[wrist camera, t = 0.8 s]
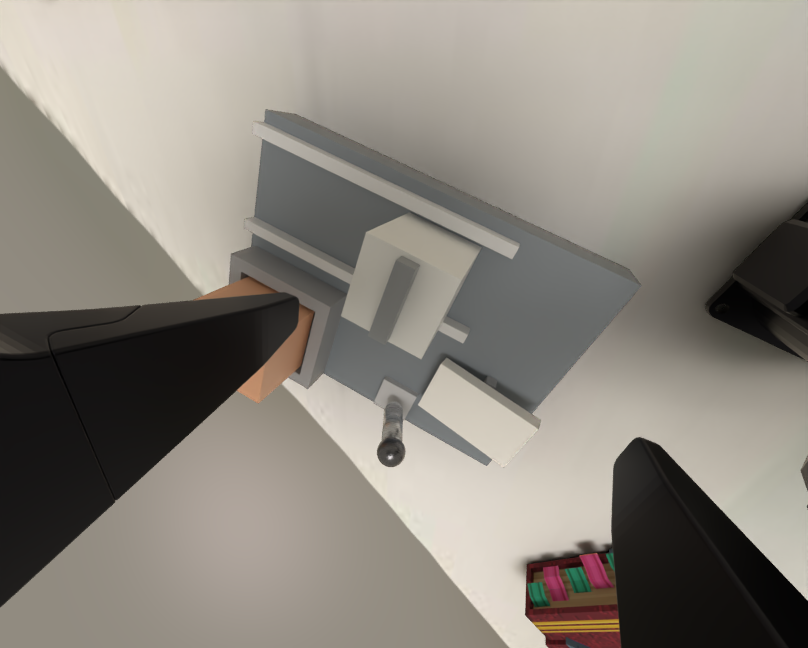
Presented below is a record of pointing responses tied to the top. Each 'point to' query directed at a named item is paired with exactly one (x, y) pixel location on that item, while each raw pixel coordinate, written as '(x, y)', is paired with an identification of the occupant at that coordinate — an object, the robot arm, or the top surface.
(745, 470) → the top surface
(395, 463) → the toggle
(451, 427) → the rocker
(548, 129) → the top surface
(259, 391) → the button
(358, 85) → the top surface
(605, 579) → the decorative book
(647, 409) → the top surface
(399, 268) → the slider
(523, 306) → the panel
